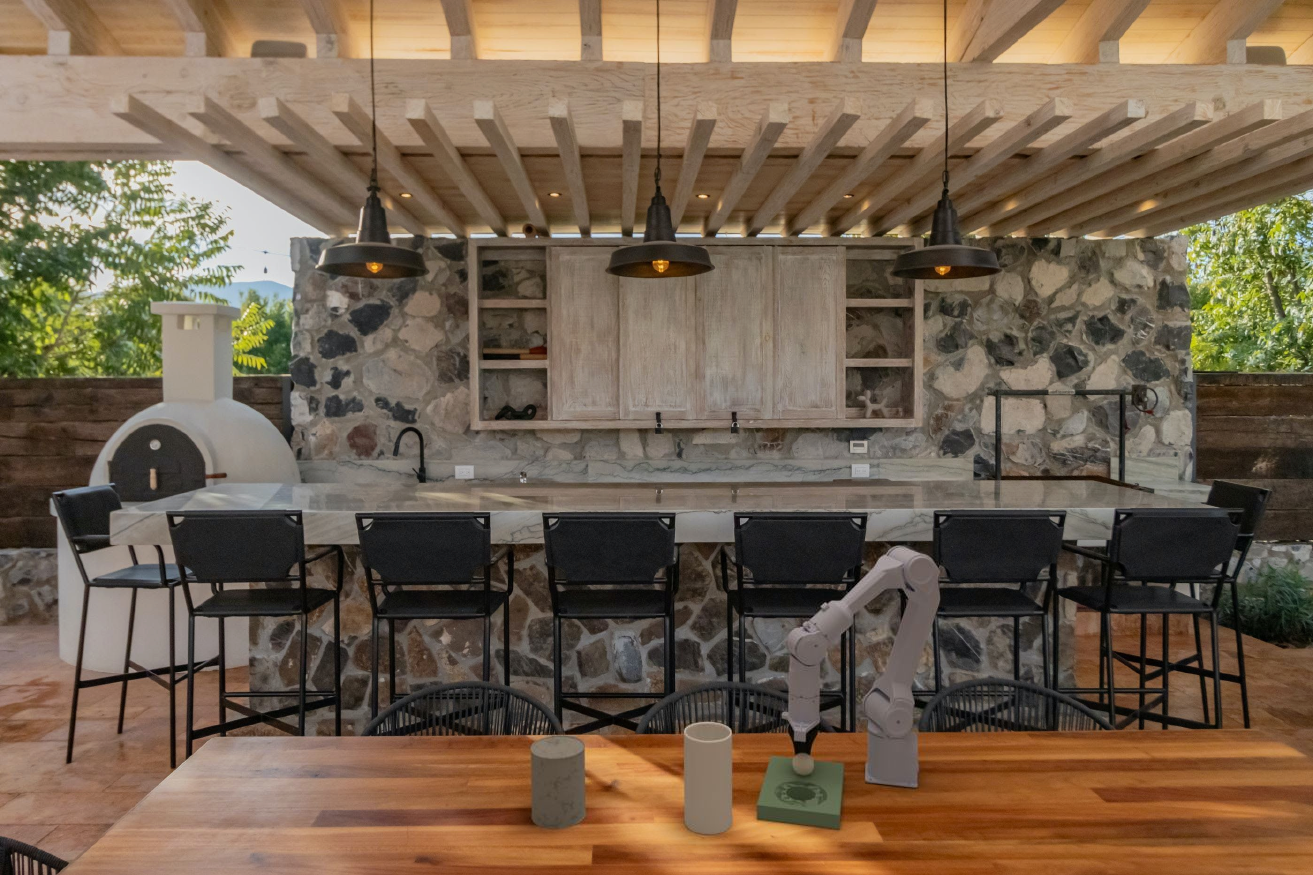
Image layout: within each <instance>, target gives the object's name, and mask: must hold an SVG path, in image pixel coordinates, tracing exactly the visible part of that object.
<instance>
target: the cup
mask: <svg viewBox="0 0 1313 875" xmlns="http://www.w3.org/2000/svg"><path fill="white" fill-rule="evenodd" d="M683 731H684V732H683V760H684V761H683V775H684V776H683V780H684V781H683V782H684V783H683V784H684V787H683V788H684V790H683V791H684V794H683V795H684V797H683V798H684V799H683V800H684V801H683V802H684V805H683V806H684V810H683V811H684V813H683V814H684V824H685V826H686V828H687V829H689V830H690V831H691V832H694V833H697V834H701V835H717V834H723V833H724V832H727V831H729V830H730V828H732V826H733V733H732V732H733V731H732V728H730V727H729V726H727V725H726V724H723V723H719V722H716V721H715V722H713V721H701V722H695V723H691V724H689V725H687V726H686V727H685V728H684V730H683Z"/></svg>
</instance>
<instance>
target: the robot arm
mask: <svg viewBox="0 0 1313 875" xmlns="http://www.w3.org/2000/svg"><path fill="white" fill-rule="evenodd" d="M940 574H941V570H940V569H939V567H938V566H937V564H936V563H935V561H934V559H933V558H932V557H930V556H929V555H927V554H926V553H925V554H924V553H921V552H917V551H915V550H912V549H910V548H909V547H907V546H904V545H895V546H892V548H889V549H888V551H887V552H886V554H883V555H882V556H880V557H879V558H878V559H877V561H876V563H875V565H874V566H873V567H872V569H870V571H869V572H868V573H867V574H866V575H865V576H863V577H862V579H861V580H860V581H859V582H857V584H856V585H855V586H854V587H853V588H851V590H850V591H849V592H848V593H846V595H845V596H844V597H843V598H842V599H840V600H831V601H829V602H828V603H827V602H824V603H823V604H822V605H820V608H821V609H820V610H819V611H818V612H817V613H816V614H815V615H813V617H812V618H810V619H809V620H808V621H807V620H806V621H804V622H803V623H802V626H799V627H796V628H793V629H792V630H791V631H790V632H789V633H788V635H787V638H786V640H784V646H785V649H786V651H788V653H789V668H788V702H787V703H788V707H787V708H788V711H783V712H782V713H781V719H784V720H787V721H788V725H787V734H788V735H789V737H790V740H791V743H792V745H793V750H794V757H795V756H796V755H797V754H799V753H806V754H808V755H810V756H811V752H812V747H813V744H814V741H815V739H816V738H817V736H818V733H819V729H820V724H819V723H820V722H821V716H820V690H821V689H820V686H821V685H820V681H821V680H820V679H821V677H820V676H821V661H823V660H824V659H825V656H826V655H827V649H828V648H829V647H830V645H831V644H832V643H834V641H835V640H837V638H839V637H840V636H841V635H842V634H843V633H844V632H845V631H847V630H848V629H849V628H850V627H851V626H852V625H853V622H854V615H855V614H856V613H858V612H859V611H860V610H861V609H862V608H863V607H865V606H866V605H868V603H871V601H873V600H874V599H875V598H876V597H878V596H879V595H880V594H881V593H882V592H884V591H885V590H888V589H902V590H903V591H904V592H903V593H904V594H905V595H906V598H908V600H907V604H906V607H905V610H904V613H903V616H902V618H901V622H900V625H899V628H898V631H897V634H896V635H895V636H896V637H895V640H894V642H893V645H892V649H891V651H890V653H889V658H888V659H887V663H886V667H885V668H884V672H883V675H882V676H881V677H878V678H877V679H876V680H874V682H873V685H872V687H871V689H870V690H869V691H868V692H866V694H865V696H864V697H863V700H862V711H863V713H864V715H865V716H866V717H867V718H868V723H867V762H865V764H864V766H865V767H864V768H865V769H864V770H865V771H864V772H865V774H864V779H865V780H864V782H866V783H870V784H879V785H888V786H894V787H896V786H898V787H905V788H906V787H907V788H914V789H916V788H918V787H919V785H918V773H920V764H919V758H918V757H919V754H918V753H919V751H918V750H919V749H918V748H919V743H918V741H919V740H918V733H916V732H913V731H911V729H912V727H913V723H914V716H913V711H914V707H915V698H914V696H913V693H912V692H913V691H912V686H913V682H914V680H915V676H916V673H917V670H918V668H919V665H920V662H921V659H922V655H923V653H924V650H925V647H926V643H927V640H928V638H929V636H930V632H931V629H932V626H933V623H934V621H935V617H936V614H937V611H938V607H939V605H940V601H941V594H940V586H939V578H940Z"/></svg>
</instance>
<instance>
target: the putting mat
mask: <svg viewBox="0 0 1313 875" xmlns="http://www.w3.org/2000/svg"><path fill="white" fill-rule="evenodd" d="M793 759H794V757H784V756H776V755H770V758H769V763H768V764H767V769H766V772H765V776H764V779H763V782H762V785H761V790H760V793H759V796H758V799H757V803H756V819H757V820H762V821H771V822H778V823H784V824H785V823H787V824H792V825H793V824H794V825H802V826H809V827H810V826H811V827H816V828H817V827H818V828H825V829H834V830H840V827H841V826H840V825H841V814H842V813H841V812H842V804H843V803H842V802H843V789H844V780H845V779H844V778H845V776H844V775H845V763H841V762H834V761H823V760H816V759H815V760H814V759H813V761H814V769H813V771H812V772H811V773H810V774H809V775H806V776H802V775H799V774H797V773H796V772H795V770H794V768H793V765H792V762H793Z"/></svg>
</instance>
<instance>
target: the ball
mask: <svg viewBox="0 0 1313 875" xmlns="http://www.w3.org/2000/svg"><path fill="white" fill-rule="evenodd" d="M793 758H794V759H793V762H792V765H793V768H794V770H795V772H796V773H797V774H799V775H802V776H806V775H809V774H810V773H811V772H812V771H813V769H814V761H813V760H814V759H813V757H812V756H811V754H810V755H808V754H806V753H799V754H797V755H796V756H795V755H794V756H793Z"/></svg>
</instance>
